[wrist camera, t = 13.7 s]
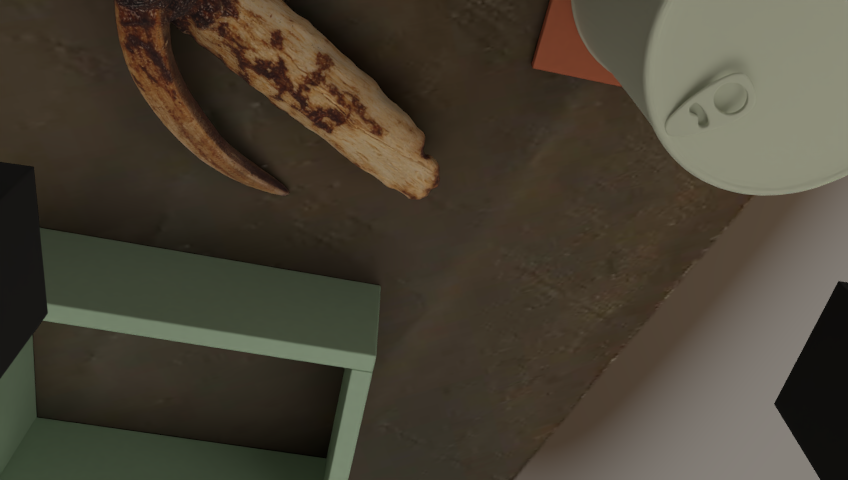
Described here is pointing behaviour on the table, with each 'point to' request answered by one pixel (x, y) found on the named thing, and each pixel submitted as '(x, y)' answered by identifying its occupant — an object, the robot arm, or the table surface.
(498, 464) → the table surface
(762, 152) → the can
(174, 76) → the lashed bone hook
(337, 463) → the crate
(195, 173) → the table surface
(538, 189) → the table surface
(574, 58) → the mat
